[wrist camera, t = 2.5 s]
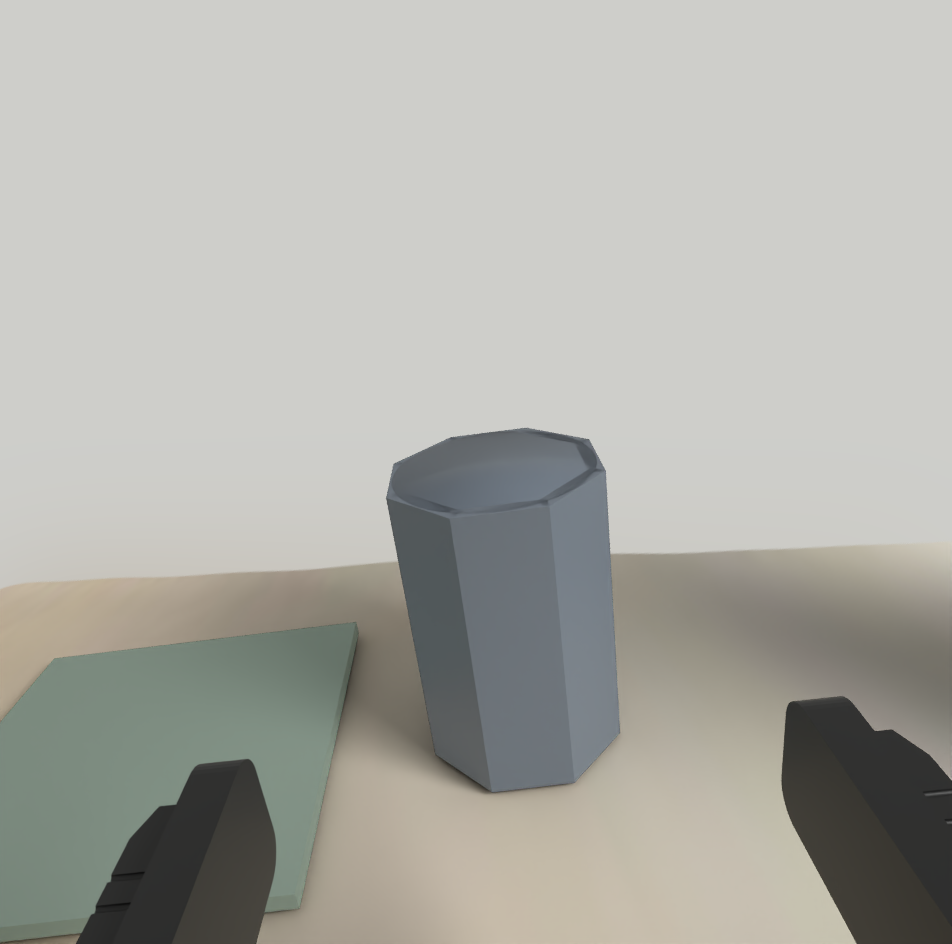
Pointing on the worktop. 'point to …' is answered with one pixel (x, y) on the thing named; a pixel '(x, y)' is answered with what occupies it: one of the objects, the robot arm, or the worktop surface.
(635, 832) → the worktop surface
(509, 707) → the grey octagonal prism
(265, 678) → the mat
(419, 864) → the worktop surface
